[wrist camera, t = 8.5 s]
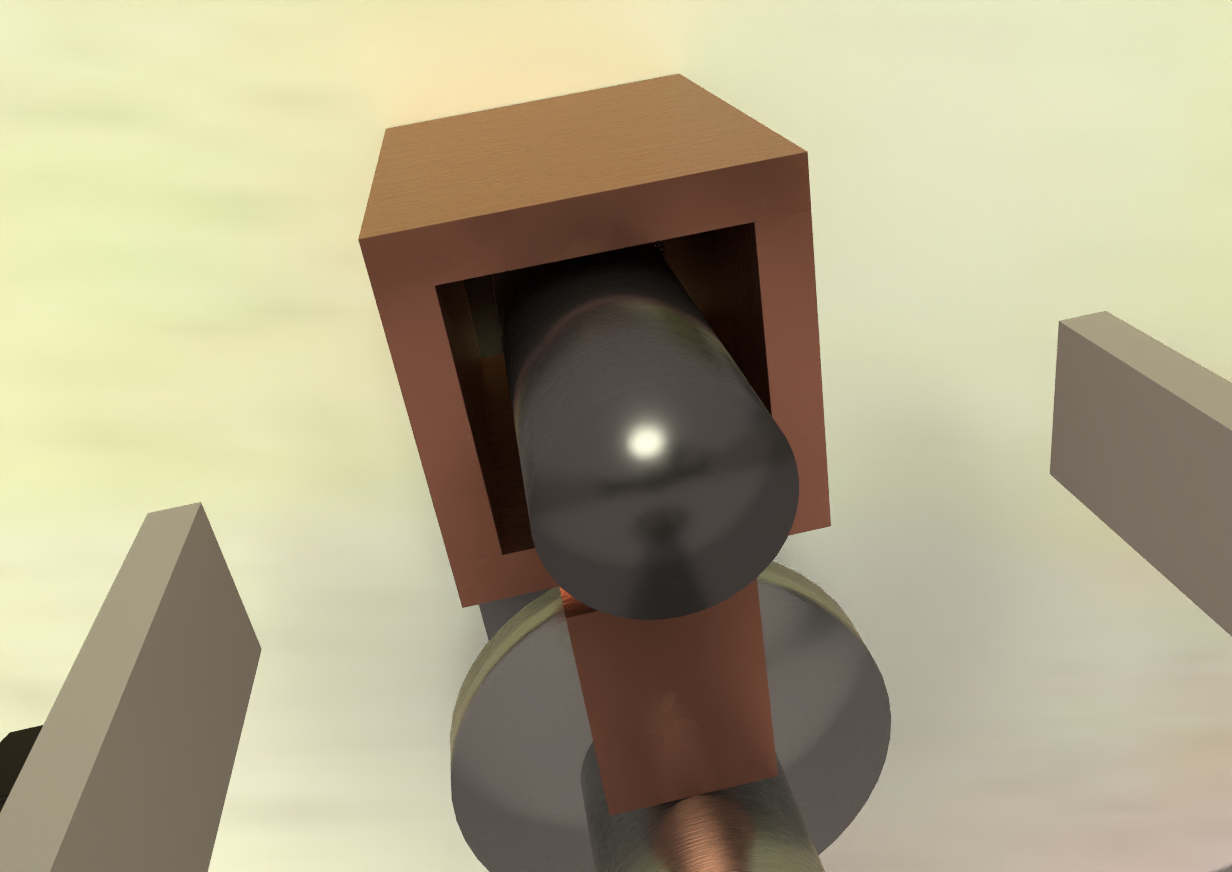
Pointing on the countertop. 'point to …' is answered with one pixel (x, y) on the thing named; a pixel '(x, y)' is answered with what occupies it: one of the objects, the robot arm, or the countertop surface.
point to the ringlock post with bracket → (499, 521)
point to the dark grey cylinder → (638, 438)
